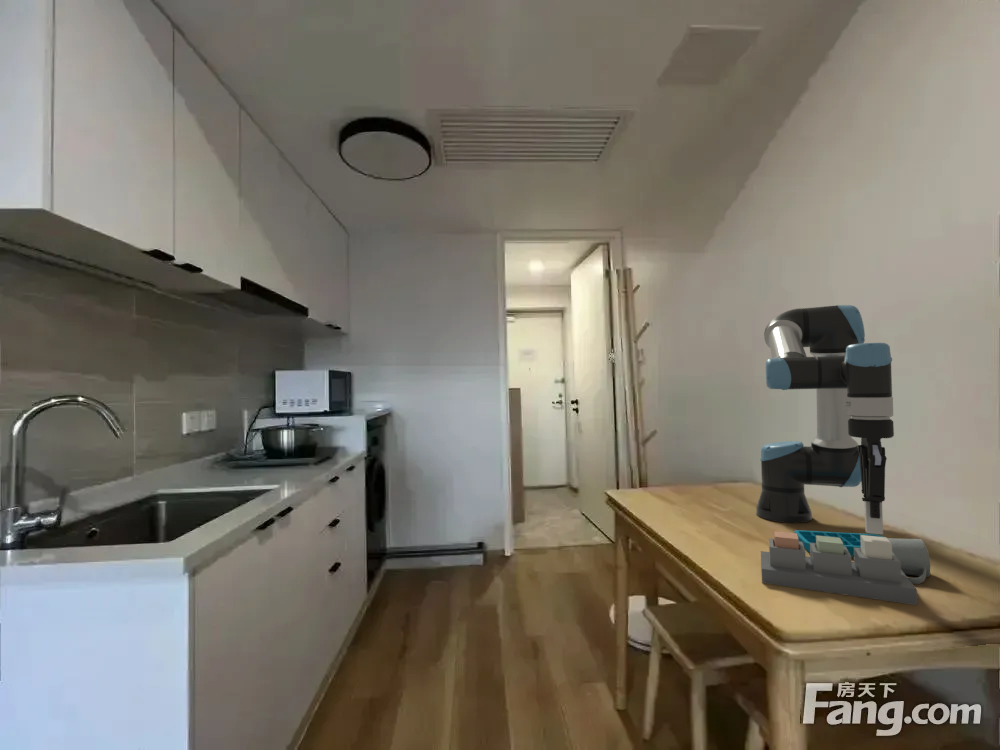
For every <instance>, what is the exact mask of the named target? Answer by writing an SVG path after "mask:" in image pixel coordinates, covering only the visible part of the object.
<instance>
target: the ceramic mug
mask: <svg viewBox="0 0 1000 750" xmlns="http://www.w3.org/2000/svg"><path fill="white" fill-rule="evenodd" d="M886 538H887V539H888V540H889V541H890V542H891V544H892V552H893V553H894V554H895V556H896V557H897V558H898V559H899V561H900V562H901V570H902V571H903V573H904V574H905V575H906V576H907V575H908V576H915V577H908V576H907V578H908V579H909V580H910V582H911V583H912V584H913V585H918V584H921V583H924V582H925V580H926V578H928V577H930V574H931V559H930V555H929V550H928V548H927V545H926V543H925V542H924V540H923V539H921V538H893V537H892V538H891V537H890V538H889V537H886Z"/></svg>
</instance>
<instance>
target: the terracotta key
mask: <svg viewBox="0 0 1000 750" xmlns="http://www.w3.org/2000/svg"><path fill="white" fill-rule="evenodd" d="M773 537H774V538H773V539H774V542H775V547H783V548H792V549H799V540H798V536H797V533H793V532H786V531H773Z"/></svg>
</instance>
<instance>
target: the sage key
mask: <svg viewBox="0 0 1000 750" xmlns="http://www.w3.org/2000/svg"><path fill="white" fill-rule="evenodd" d="M816 550H817V551H818V552H827V553H836V554H844V545H843V542H842V540H841V539H840V538H837V537H827V536H817V535H816Z"/></svg>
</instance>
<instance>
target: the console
mask: <svg viewBox="0 0 1000 750" xmlns="http://www.w3.org/2000/svg"><path fill="white" fill-rule="evenodd" d="M760 565H761V566H760V567H761V582H762V584H768V585H774V586H781V587H789V588H796V589H802V590H808V591H809V590H810V591H815V592H824V593H831V594H838V595H843V594H844V596H850V595H851V596H852V597H858V598H865V599H866V598H867V599H872V600H877V601H885V602H893V603H900V604H908V605H913V606H917V605H918V594H917V592H918V591H917V588H916V586H914V585H915V584H912V583H911V582H910V580H909V579H908V578H907V577H908V576H907V574H904V573H903V571H902V570H901V562H900V561H899V559H898V558H897V557H896V556H895V554H894V553H893V552H892V560H889V559H880V558H871V557H864V556H863V555H862V553H861V548H855V547H854V557H853V561H852V556H851V555H850V553H849V552H848V550H847V548H846V546H844V554H836V553H827V552H818V551H817V550H816V543H810V553H809V556H806V549H805V548H804V545H803V542H799V549H792V548H783V547H775V542H774V538H770V537H769V538H768V551H764V550H763V551H762V550H761V551H760Z"/></svg>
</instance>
